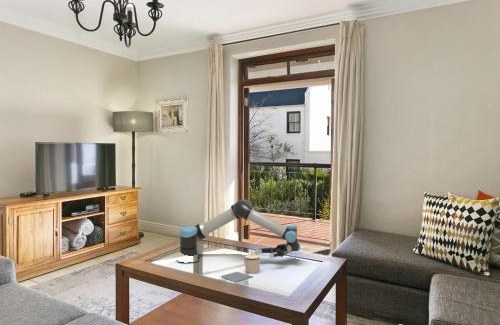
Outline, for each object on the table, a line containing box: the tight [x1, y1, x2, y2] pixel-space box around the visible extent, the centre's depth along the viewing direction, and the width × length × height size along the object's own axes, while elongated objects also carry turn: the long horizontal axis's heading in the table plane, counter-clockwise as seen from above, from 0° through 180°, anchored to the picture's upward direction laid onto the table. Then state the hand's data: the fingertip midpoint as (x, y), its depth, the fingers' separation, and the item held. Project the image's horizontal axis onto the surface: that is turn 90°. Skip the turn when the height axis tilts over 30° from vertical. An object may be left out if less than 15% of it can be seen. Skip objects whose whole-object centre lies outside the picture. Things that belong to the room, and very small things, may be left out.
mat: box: [220, 271, 254, 283], centre depth 179 cm, size 14×14×1 cm
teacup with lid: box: [244, 251, 260, 274], centre depth 192 cm, size 12×9×12 cm
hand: (262, 254), depth 199 cm, fingers open, 13 cm apart
